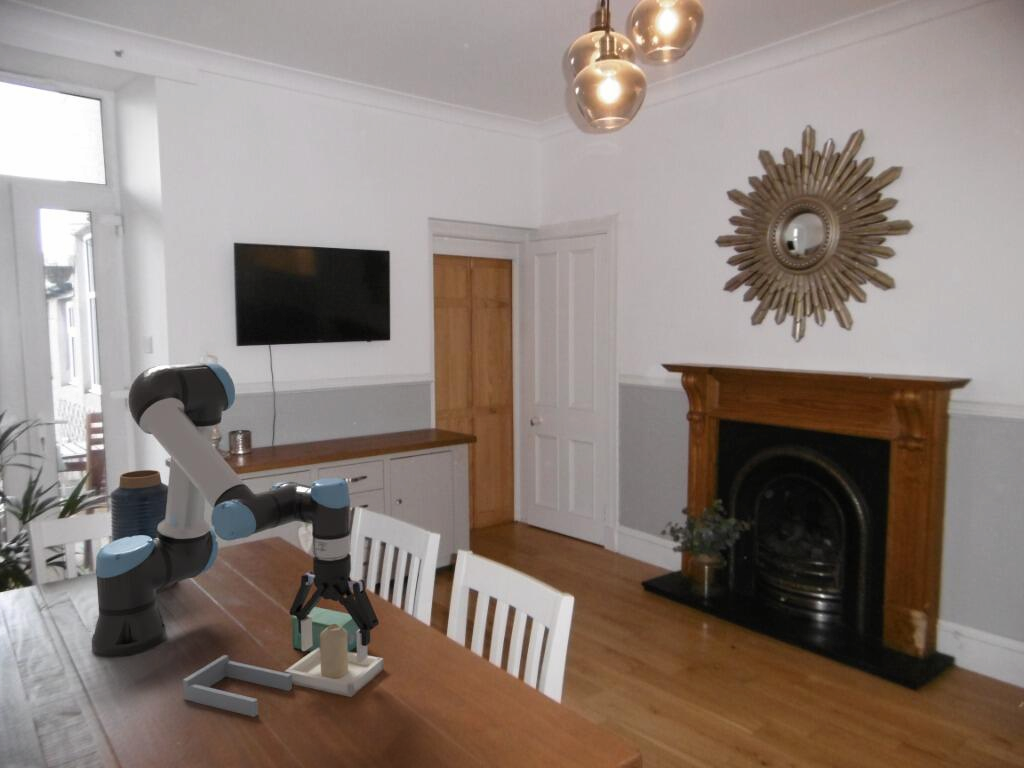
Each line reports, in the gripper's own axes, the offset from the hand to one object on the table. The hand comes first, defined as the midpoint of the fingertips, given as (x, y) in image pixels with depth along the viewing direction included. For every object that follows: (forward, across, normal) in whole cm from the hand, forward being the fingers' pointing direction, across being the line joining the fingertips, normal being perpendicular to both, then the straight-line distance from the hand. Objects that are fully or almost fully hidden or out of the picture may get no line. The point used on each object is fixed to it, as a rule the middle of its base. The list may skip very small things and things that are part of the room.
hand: (334, 653), depth 150 cm
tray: (+5, 0, 0) cm, 5 cm away
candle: (+4, 0, 0) cm, 4 cm away
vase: (+5, -78, +23) cm, 81 cm away
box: (+5, -9, +10) cm, 15 cm away
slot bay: (+5, -13, -13) cm, 19 cm away
